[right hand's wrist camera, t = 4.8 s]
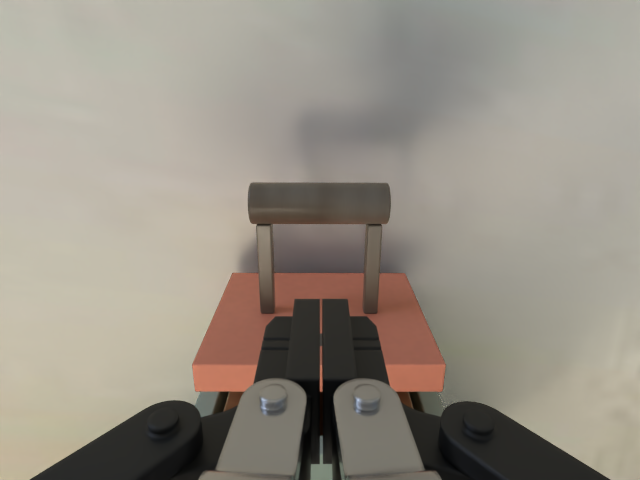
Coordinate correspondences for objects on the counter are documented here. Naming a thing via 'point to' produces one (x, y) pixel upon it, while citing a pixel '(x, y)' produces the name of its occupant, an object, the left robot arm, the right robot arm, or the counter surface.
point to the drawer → (317, 293)
